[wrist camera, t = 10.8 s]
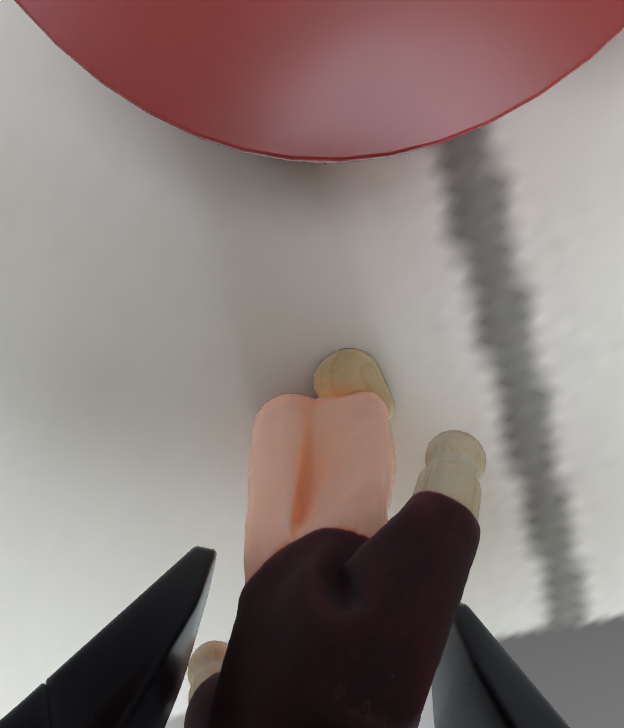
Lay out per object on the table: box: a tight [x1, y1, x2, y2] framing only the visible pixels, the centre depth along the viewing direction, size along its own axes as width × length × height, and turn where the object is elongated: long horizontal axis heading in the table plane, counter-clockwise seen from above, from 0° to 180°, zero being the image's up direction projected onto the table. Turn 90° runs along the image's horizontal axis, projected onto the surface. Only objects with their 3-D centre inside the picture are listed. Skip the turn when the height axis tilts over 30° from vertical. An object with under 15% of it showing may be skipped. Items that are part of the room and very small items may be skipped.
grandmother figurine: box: [184, 348, 486, 728], centre depth 8 cm, size 8×4×13 cm, turn 149°
